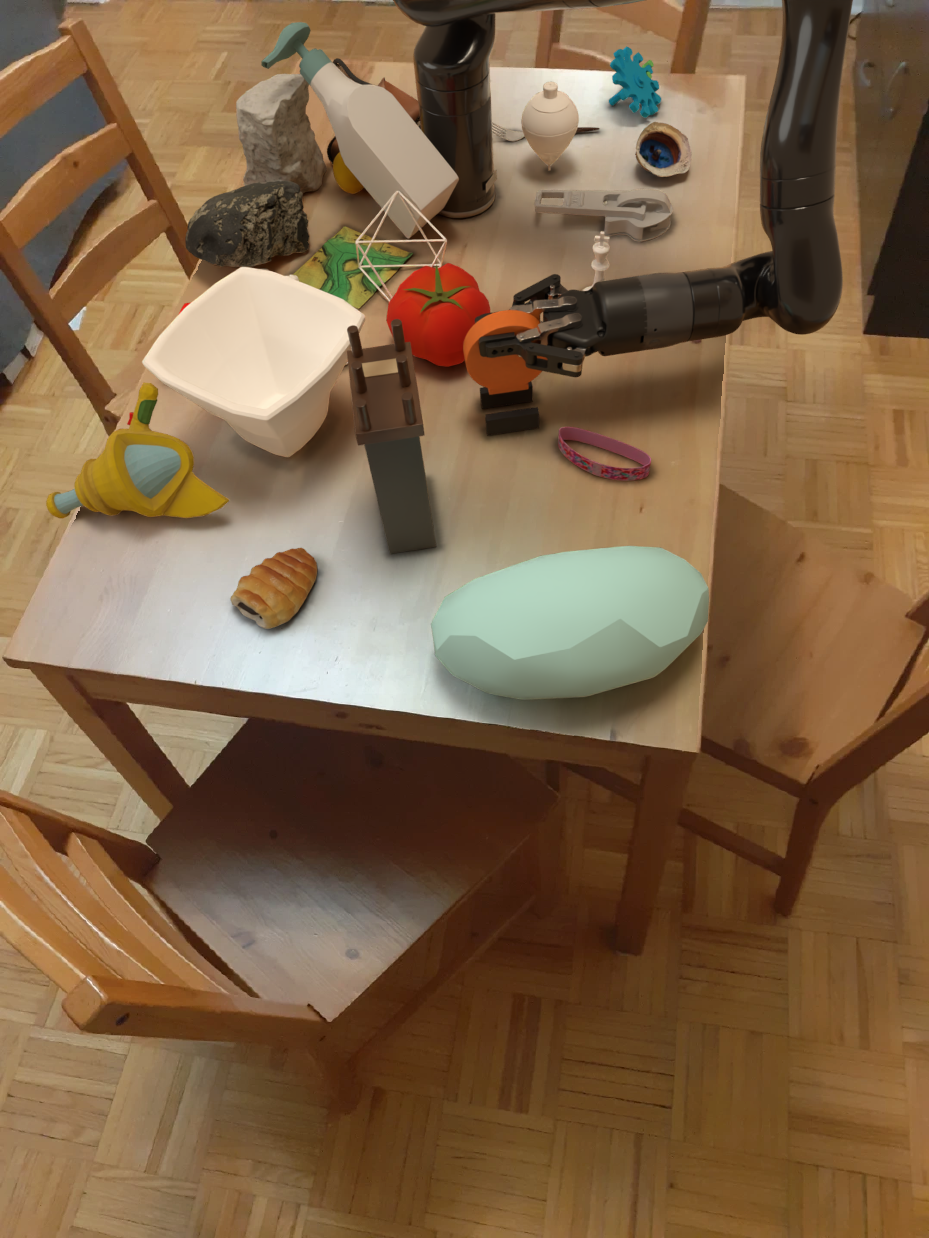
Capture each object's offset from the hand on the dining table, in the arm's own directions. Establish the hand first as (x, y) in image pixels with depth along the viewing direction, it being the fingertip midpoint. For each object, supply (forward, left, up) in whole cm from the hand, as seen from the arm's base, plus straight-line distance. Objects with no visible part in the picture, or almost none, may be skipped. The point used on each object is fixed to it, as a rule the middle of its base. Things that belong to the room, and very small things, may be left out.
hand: (478, 337), depth 97 cm
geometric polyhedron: (-25, +12, -12) cm, 30 cm away
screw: (-18, -9, -13) cm, 23 cm away
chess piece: (-6, +23, -12) cm, 27 cm away
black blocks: (+2, +3, -12) cm, 13 cm away
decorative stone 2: (+31, -17, -14) cm, 38 cm away
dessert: (-20, +47, -6) cm, 52 cm away
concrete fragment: (-47, +1, -6) cm, 48 cm away
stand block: (+6, -15, -12) cm, 20 cm away
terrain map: (-33, +3, -12) cm, 35 cm away
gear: (-34, +55, -12) cm, 66 cm away
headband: (+14, +6, -12) cm, 19 cm away
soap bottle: (-29, +14, -8) cm, 33 cm away
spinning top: (-31, +35, -12) cm, 49 cm away
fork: (-38, +40, -12) cm, 57 cm away
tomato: (-13, +3, -12) cm, 18 cm away
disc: (+1, +3, -7) cm, 8 cm away
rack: (+6, -15, +6) cm, 17 cm away
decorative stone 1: (-51, +7, -13) cm, 53 cm away
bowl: (-14, -19, -12) cm, 26 cm away
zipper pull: (-18, +34, -12) cm, 40 cm away
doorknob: (-42, +11, -8) cm, 44 cm away
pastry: (+6, -31, -12) cm, 34 cm away
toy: (-21, -36, -2) cm, 41 cm away
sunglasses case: (-54, +22, -12) cm, 60 cm away
